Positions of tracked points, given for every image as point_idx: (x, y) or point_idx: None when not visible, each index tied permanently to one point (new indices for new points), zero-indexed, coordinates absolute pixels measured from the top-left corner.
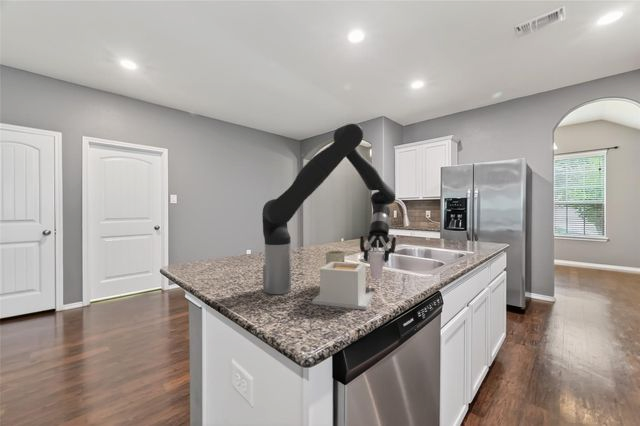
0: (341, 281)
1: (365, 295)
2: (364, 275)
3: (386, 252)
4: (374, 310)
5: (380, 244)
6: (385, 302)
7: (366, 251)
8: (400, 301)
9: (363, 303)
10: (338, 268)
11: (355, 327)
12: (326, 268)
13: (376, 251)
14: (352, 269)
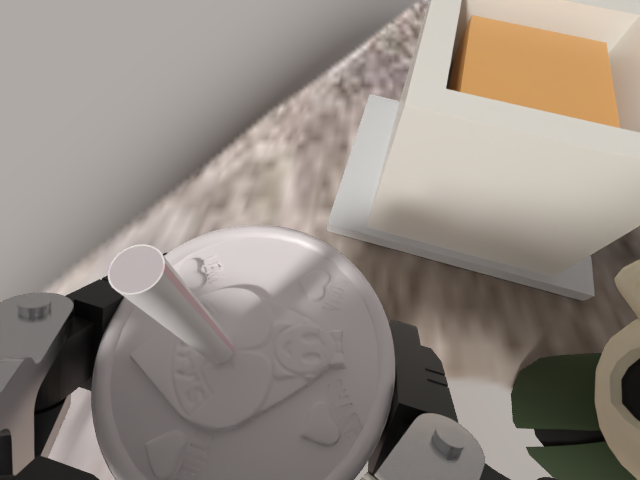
0: None
1: (368, 193)
2: (393, 136)
3: (95, 289)
4: (340, 101)
5: (50, 468)
6: (286, 162)
7: (419, 389)
8: (219, 171)
9: (379, 115)
10: (580, 90)
11: (399, 24)
12: (631, 8)
13: (242, 353)
14: (481, 67)
